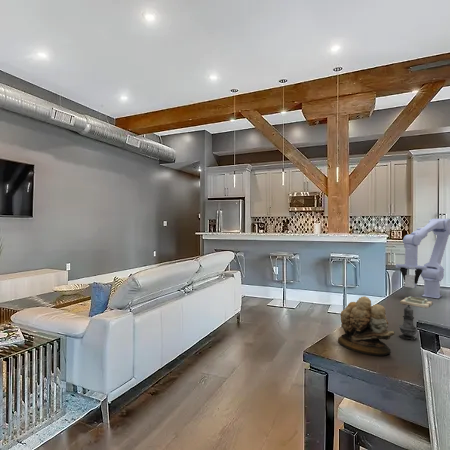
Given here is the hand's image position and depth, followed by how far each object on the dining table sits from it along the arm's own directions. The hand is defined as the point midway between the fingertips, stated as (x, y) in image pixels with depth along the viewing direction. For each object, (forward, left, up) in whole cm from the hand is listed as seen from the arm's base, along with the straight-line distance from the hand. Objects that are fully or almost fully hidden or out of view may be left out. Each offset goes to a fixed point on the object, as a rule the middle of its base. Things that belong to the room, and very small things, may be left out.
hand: (410, 282), depth 174 cm
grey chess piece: (+64, +15, -9) cm, 66 cm away
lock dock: (+8, +5, -9) cm, 13 cm away
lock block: (0, 0, -2) cm, 2 cm away
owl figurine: (+84, +7, -9) cm, 85 cm away
